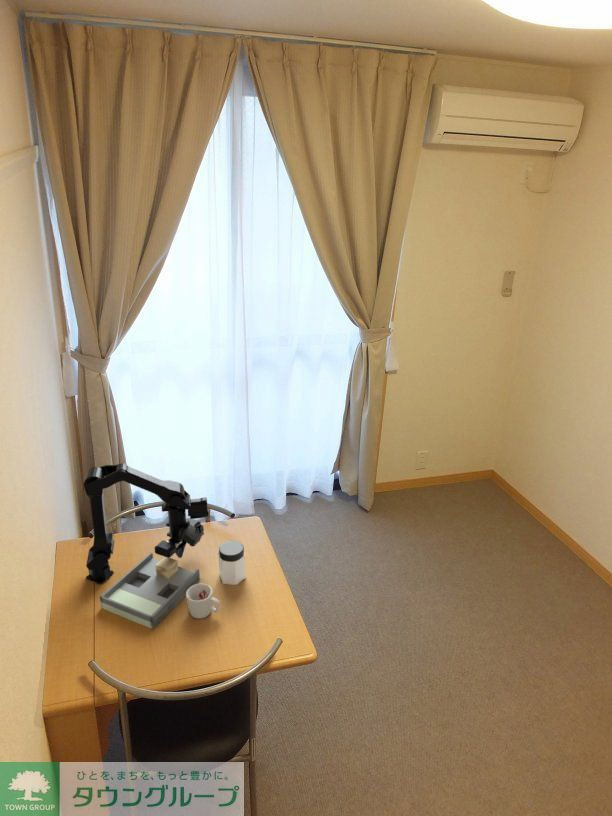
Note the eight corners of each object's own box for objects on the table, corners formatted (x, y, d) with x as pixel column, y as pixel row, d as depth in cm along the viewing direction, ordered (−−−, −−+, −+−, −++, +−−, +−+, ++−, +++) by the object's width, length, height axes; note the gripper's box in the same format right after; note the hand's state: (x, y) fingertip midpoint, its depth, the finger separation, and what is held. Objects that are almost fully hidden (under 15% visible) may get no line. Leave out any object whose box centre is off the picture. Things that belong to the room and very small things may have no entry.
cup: (226, 609, 170) (225, 589, 167) (214, 627, 163) (212, 606, 160) (195, 600, 173) (194, 580, 170) (182, 617, 166) (180, 597, 163)
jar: (217, 571, 186) (215, 542, 181) (240, 565, 189) (239, 537, 184) (224, 588, 179) (222, 558, 174) (247, 582, 181) (247, 552, 177)
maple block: (156, 574, 180) (155, 564, 179) (166, 565, 184) (165, 556, 183) (168, 579, 178) (167, 569, 177) (178, 569, 183) (177, 560, 181)
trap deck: (101, 608, 169) (99, 596, 167) (151, 562, 189) (150, 552, 188) (153, 629, 162) (151, 617, 160) (199, 579, 182) (199, 569, 180)
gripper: (180, 541, 170) (183, 581, 176) (213, 511, 186) (215, 548, 192) (151, 531, 174) (155, 570, 180) (186, 503, 190) (188, 539, 196)
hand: (180, 557), depth 187 cm, fingers closed
